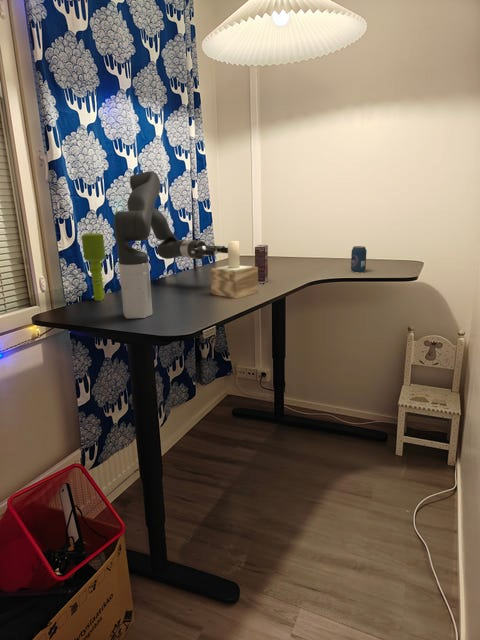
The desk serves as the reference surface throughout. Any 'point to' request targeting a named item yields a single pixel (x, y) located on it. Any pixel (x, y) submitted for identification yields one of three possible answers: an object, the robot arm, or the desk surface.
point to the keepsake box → (234, 282)
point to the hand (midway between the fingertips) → (221, 251)
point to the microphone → (95, 260)
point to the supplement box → (262, 262)
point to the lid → (233, 258)
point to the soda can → (358, 259)
